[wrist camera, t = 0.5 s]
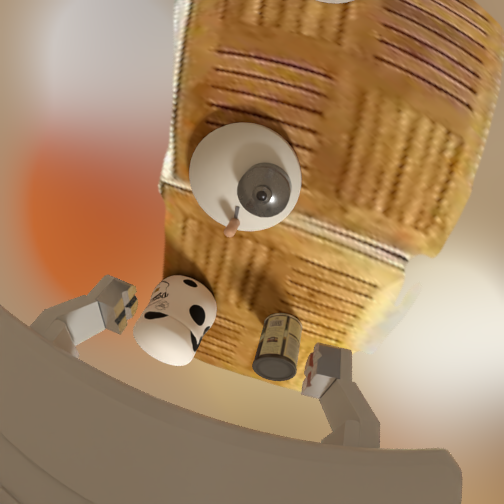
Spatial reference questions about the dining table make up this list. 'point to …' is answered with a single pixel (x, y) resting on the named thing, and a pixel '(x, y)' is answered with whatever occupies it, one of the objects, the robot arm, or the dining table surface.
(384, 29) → the dining table surface
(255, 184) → the iron cover
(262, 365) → the coffee can
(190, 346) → the milk container
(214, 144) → the crank wheel
